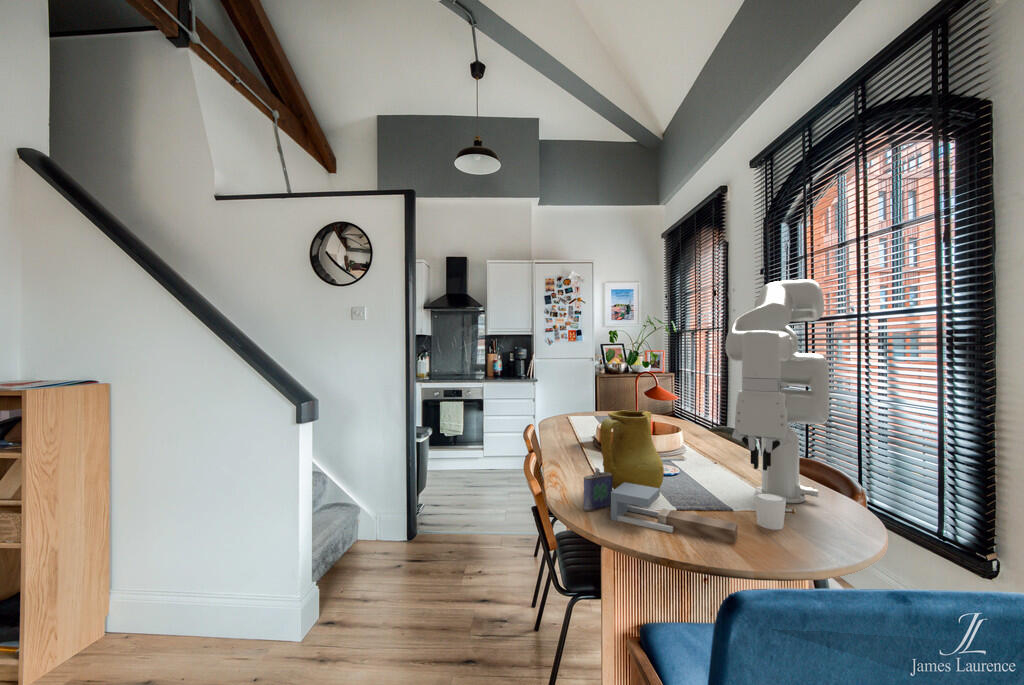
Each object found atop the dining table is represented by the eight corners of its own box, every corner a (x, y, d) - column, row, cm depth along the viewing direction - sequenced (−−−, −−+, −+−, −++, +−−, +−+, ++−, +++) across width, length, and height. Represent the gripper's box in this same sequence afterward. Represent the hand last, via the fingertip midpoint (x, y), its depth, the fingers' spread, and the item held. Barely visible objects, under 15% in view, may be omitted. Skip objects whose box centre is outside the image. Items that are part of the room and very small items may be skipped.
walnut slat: (737, 535, 105) (737, 523, 105) (734, 543, 100) (734, 530, 100) (662, 520, 114) (662, 508, 114) (657, 526, 110) (657, 514, 110)
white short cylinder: (789, 532, 106) (789, 503, 106) (756, 528, 109) (756, 499, 109) (782, 522, 113) (782, 494, 113) (752, 518, 115) (752, 491, 115)
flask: (587, 512, 119) (587, 472, 119) (580, 508, 121) (580, 469, 121) (614, 507, 123) (614, 467, 123) (607, 503, 125) (607, 465, 125)
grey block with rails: (681, 519, 114) (681, 492, 114) (671, 533, 105) (671, 503, 105) (624, 507, 122) (624, 482, 122) (610, 519, 114) (610, 492, 114)
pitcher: (674, 505, 123) (669, 413, 124) (606, 507, 124) (601, 416, 125) (655, 487, 140) (651, 407, 141) (596, 489, 141) (592, 409, 142)
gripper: (802, 386, 99) (802, 470, 99) (725, 383, 107) (725, 459, 107) (801, 389, 92) (801, 478, 92) (720, 385, 101) (720, 466, 101)
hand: (760, 467), depth 100 cm, fingers closed
